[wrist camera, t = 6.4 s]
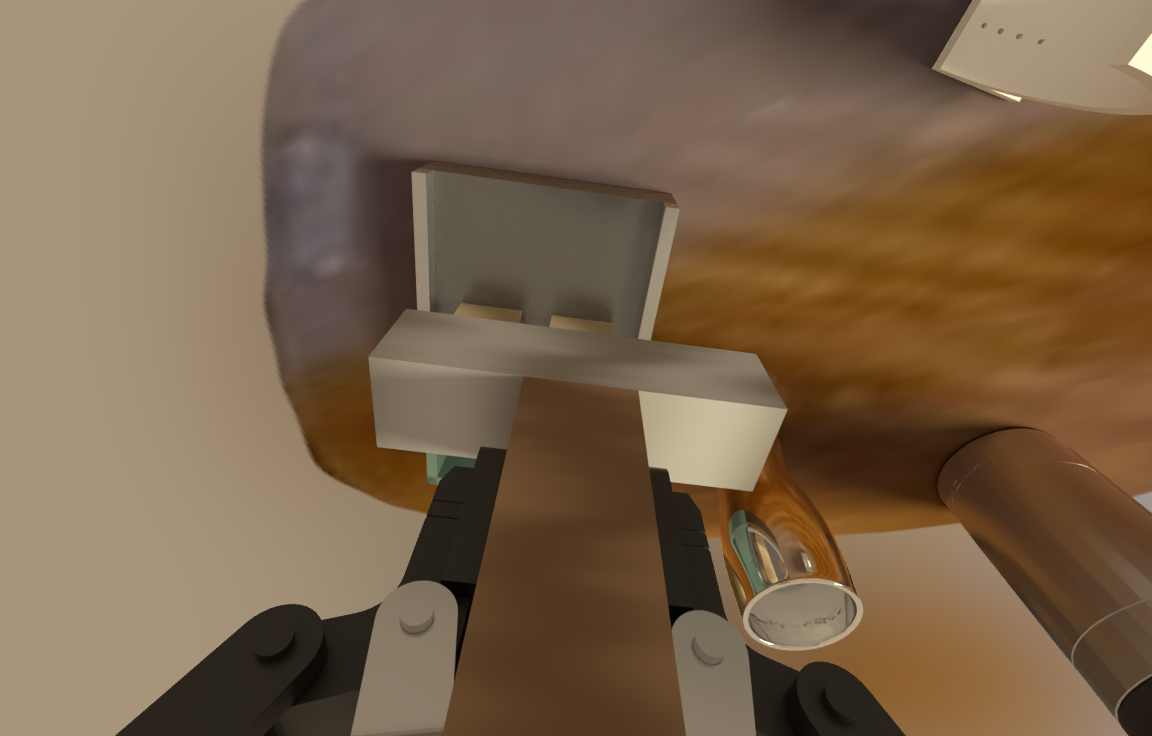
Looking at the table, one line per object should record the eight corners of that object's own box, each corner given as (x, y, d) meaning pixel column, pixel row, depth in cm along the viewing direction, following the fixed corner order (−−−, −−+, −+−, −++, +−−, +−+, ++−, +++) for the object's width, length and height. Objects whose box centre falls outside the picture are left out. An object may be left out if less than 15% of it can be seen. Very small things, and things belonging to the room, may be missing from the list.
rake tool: (756, 354, 16) (1059, 886, 6) (729, 428, 17) (928, 955, 7) (406, 308, 15) (24, 794, 5) (410, 389, 17) (122, 889, 7)
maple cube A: (612, 323, 33) (613, 351, 29) (603, 374, 35) (602, 407, 31) (552, 314, 33) (545, 342, 29) (546, 367, 35) (539, 398, 31)
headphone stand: (990, -32, 25) (1258, -108, 15) (1090, 13, 26) (1413, -30, 16) (930, 69, 28) (1127, 64, 17) (1023, 108, 28) (1266, 125, 18)
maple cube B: (521, 310, 33) (511, 338, 29) (517, 363, 35) (508, 394, 31) (461, 302, 33) (444, 329, 29) (460, 355, 35) (444, 386, 31)
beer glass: (703, 485, 43) (744, 658, 31) (692, 421, 40) (733, 585, 27) (786, 473, 42) (865, 647, 29) (782, 406, 39) (870, 570, 26)
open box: (671, 193, 31) (679, 208, 28) (629, 391, 39) (631, 423, 35) (434, 160, 31) (411, 171, 28) (438, 366, 39) (420, 396, 35)
